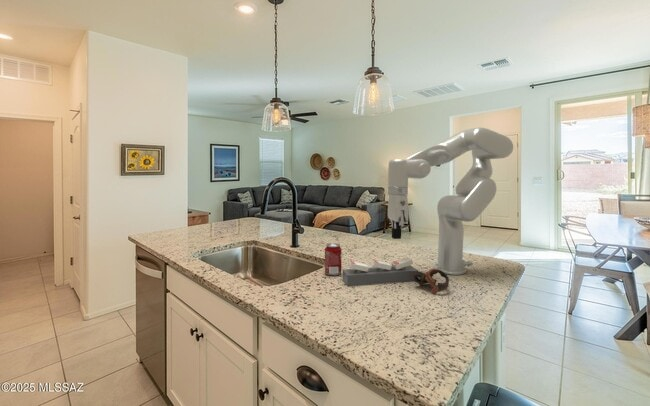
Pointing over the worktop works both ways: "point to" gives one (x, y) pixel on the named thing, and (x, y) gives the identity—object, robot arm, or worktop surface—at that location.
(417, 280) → the brown looped band
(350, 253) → the worktop surface
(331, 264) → the soda can
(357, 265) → the rocker
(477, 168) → the robot arm
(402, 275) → the power strip
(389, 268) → the rocker
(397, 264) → the rocker
